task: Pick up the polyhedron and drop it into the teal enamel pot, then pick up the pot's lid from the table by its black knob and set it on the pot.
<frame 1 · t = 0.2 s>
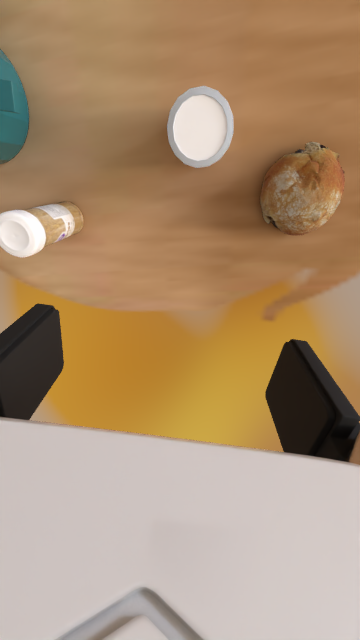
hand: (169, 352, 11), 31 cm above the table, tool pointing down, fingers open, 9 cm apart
spice jar: (69, 217, 38), on the table
white cup: (198, 138, 33), on the table
bread roll: (295, 190, 36), on the table
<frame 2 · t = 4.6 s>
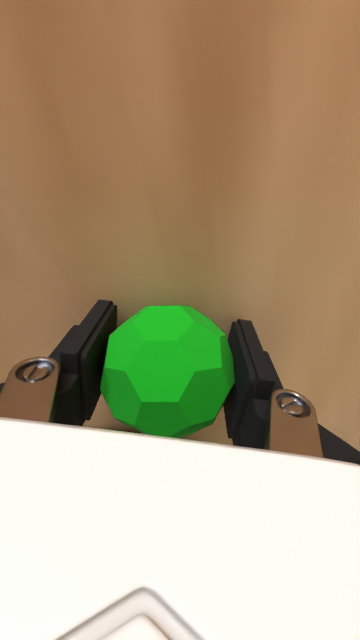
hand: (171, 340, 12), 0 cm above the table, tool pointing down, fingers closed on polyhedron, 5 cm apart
polyhedron: (172, 333, 12), on the table, touching gripper
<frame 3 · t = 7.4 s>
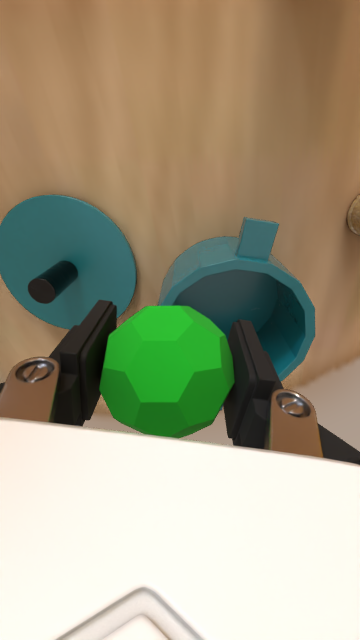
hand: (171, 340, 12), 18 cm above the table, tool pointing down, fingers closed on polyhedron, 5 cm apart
pot: (221, 297, 30), on the table
lid: (69, 269, 28), point 1 cm above the table
polyhedron: (171, 333, 12), point 17 cm above the table, touching gripper
when the fingers open (9 cm above the table, at t = 10.2 s): polyhedron drops 6 cm, resting on pot.
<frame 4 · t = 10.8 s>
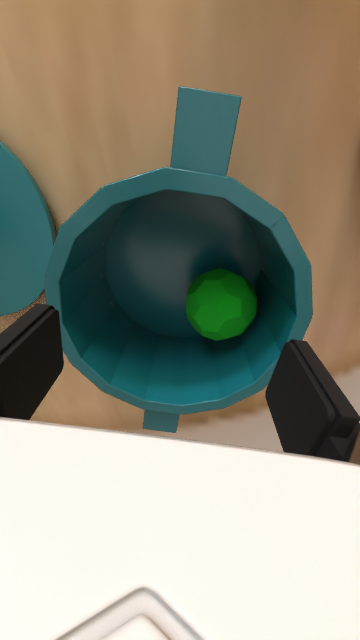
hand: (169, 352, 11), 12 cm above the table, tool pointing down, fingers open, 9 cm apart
pot: (182, 270, 21), on the table
polyhedron: (192, 284, 19), point 2 cm above the table, touching pot
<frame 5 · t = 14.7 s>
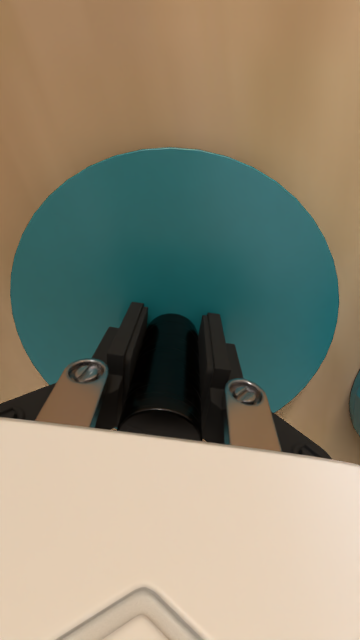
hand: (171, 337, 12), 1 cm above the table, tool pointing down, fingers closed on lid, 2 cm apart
lid: (172, 329, 13), point 1 cm above the table, touching gripper
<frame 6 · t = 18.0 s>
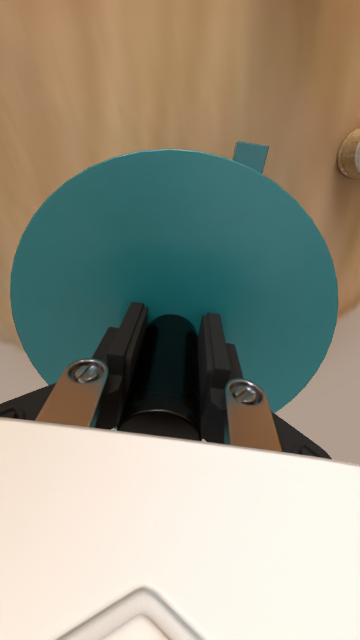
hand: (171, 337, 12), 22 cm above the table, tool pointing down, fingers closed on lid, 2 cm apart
pot: (218, 246, 31), on the table
spice jar: (357, 153, 26), on the table
lid: (172, 330, 13), point 21 cm above the table, touching gripper
when the fingers open (9 cm above the table, at t = 21.4 s): lid stays where it is, resting on pot.
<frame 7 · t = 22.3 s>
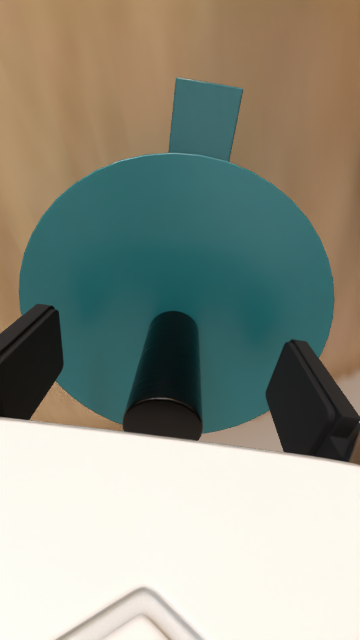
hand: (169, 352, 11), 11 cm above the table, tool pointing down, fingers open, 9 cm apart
pot: (180, 271, 21), on the table
lid: (174, 326, 13), point 8 cm above the table, touching pot
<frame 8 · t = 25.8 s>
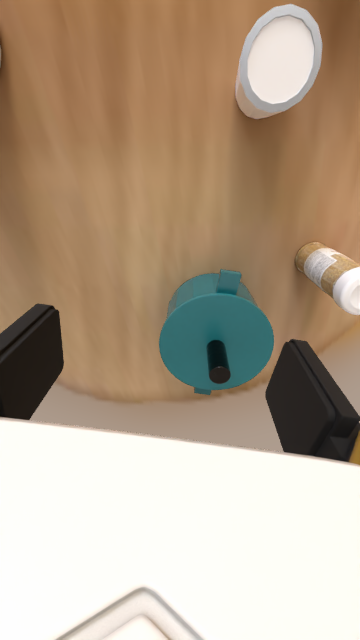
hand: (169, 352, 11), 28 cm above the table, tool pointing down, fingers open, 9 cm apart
pot: (211, 314, 42), on the table
spice jar: (310, 257, 37), on the table
white cup: (260, 87, 29), on the table
lid: (215, 344, 34), point 8 cm above the table, touching pot
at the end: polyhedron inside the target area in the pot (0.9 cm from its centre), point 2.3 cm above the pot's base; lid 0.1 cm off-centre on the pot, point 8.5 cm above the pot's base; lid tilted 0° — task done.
